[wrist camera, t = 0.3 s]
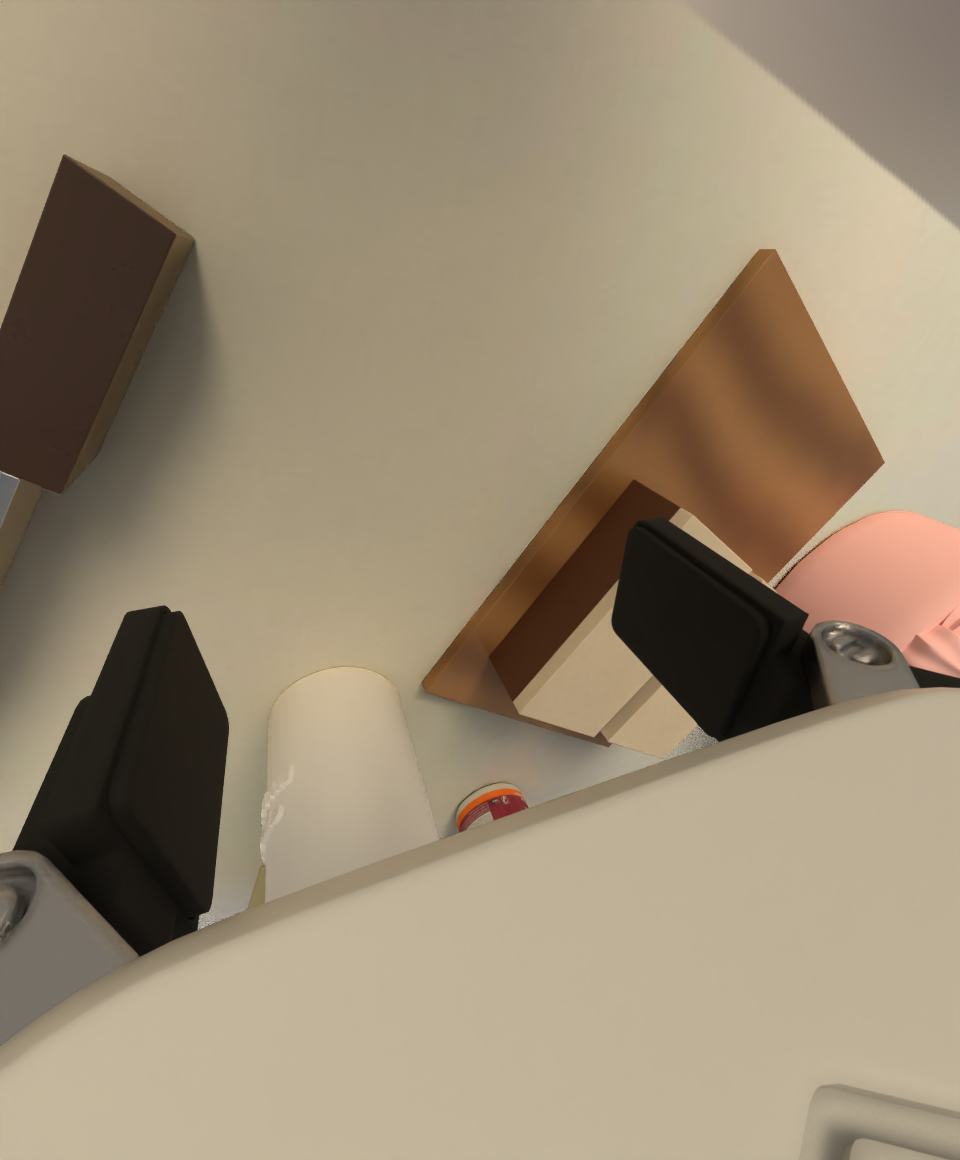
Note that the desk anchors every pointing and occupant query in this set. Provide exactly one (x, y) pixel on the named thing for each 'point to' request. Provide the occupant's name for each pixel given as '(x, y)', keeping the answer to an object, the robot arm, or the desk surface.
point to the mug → (339, 781)
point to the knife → (76, 334)
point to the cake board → (701, 463)
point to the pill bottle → (489, 805)
